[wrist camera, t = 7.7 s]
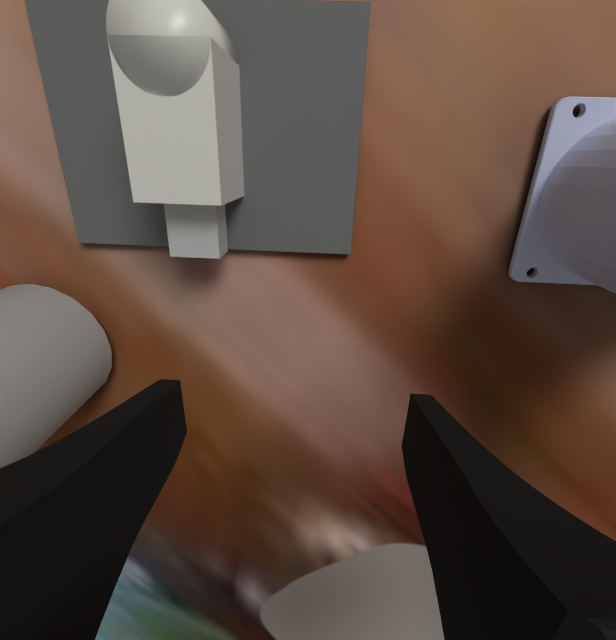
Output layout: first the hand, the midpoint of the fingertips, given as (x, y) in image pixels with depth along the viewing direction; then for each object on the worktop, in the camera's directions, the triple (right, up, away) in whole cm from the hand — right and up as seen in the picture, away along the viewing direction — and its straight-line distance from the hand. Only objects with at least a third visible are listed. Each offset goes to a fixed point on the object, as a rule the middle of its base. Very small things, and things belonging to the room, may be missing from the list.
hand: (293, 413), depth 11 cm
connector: (-4, +11, +5) cm, 13 cm away
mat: (-4, +11, +6) cm, 13 cm away
